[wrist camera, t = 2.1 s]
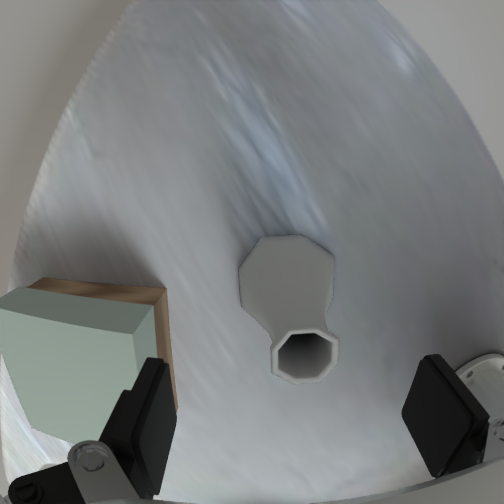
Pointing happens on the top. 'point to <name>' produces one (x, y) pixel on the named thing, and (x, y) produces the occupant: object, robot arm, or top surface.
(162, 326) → the tower base block
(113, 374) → the tower top block
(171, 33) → the top surface
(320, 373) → the flask
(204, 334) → the top surface
